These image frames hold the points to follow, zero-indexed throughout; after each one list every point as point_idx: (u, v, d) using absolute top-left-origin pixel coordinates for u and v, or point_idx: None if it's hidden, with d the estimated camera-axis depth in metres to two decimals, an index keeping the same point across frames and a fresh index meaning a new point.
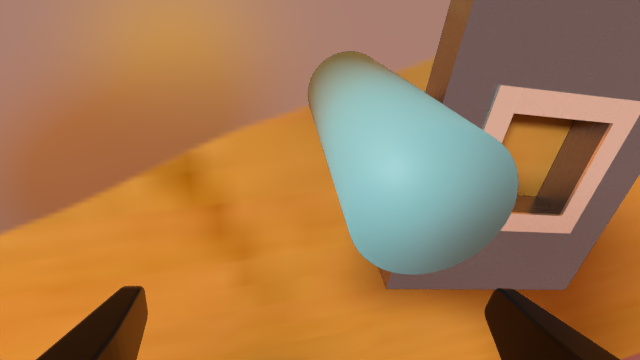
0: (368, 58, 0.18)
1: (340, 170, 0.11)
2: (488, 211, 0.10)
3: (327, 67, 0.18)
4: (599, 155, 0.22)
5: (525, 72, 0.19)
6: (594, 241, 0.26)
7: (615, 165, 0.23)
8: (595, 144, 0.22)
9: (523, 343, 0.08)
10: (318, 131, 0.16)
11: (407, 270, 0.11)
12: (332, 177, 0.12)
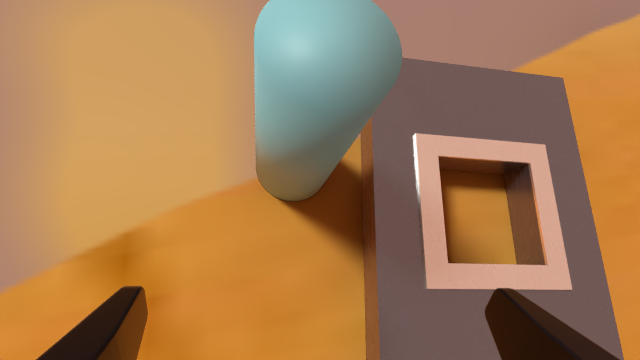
0: None
1: None
2: (381, 49, 0.12)
3: None
4: (539, 193, 0.23)
5: (431, 125, 0.23)
6: (608, 302, 0.22)
7: (562, 204, 0.24)
8: (529, 186, 0.24)
9: (523, 343, 0.08)
10: (256, 138, 0.18)
11: (325, 105, 0.11)
12: (256, 102, 0.13)
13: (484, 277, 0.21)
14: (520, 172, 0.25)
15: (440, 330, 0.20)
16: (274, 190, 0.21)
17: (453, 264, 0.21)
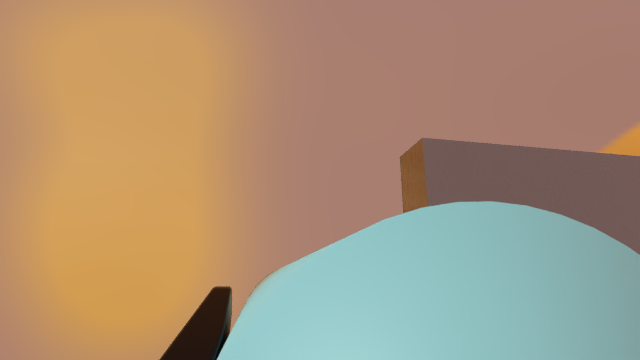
0: None
1: None
2: None
3: None
4: None
5: None
6: None
7: None
8: None
9: None
10: None
11: None
12: None
13: None
14: None
15: None
16: None
17: None
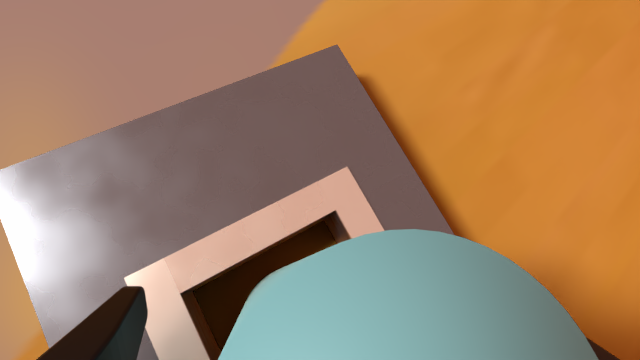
0: None
1: None
2: None
3: None
4: None
5: (151, 241, 0.13)
6: None
7: None
8: None
9: None
10: None
11: None
12: None
13: None
14: (335, 221, 0.16)
15: None
16: None
17: None
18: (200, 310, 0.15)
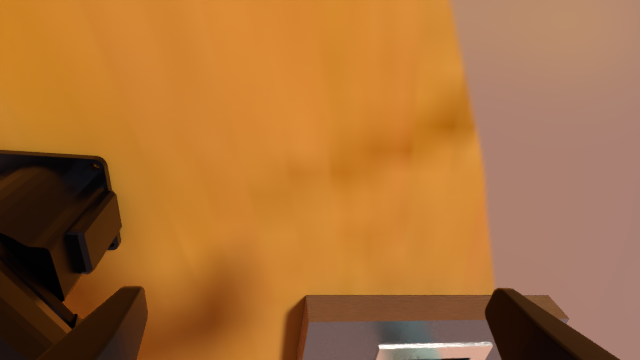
0: None
1: None
2: None
3: None
4: None
5: (494, 353, 0.29)
6: None
7: None
8: None
9: (523, 343, 0.08)
10: None
11: None
12: None
13: None
14: None
15: (349, 353, 0.27)
16: None
17: None
18: None
